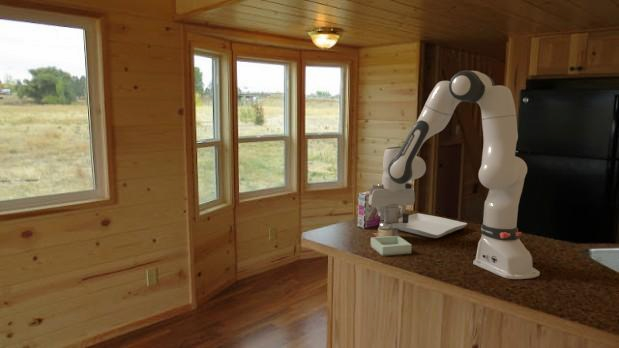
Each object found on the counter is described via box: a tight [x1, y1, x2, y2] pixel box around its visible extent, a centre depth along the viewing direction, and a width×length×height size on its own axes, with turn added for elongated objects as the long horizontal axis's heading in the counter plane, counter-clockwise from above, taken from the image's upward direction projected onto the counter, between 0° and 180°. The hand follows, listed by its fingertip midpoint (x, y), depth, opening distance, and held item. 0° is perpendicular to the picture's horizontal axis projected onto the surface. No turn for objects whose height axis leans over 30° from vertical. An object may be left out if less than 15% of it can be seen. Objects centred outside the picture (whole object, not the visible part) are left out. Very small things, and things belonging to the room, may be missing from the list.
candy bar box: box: [356, 191, 381, 230], centre depth 201 cm, size 11×5×16 cm, turn 130°
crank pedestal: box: [372, 227, 393, 237], centre depth 183 cm, size 14×6×6 cm, turn 14°
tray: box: [370, 235, 412, 257], centre depth 169 cm, size 12×12×4 cm
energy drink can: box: [383, 204, 400, 236], centre depth 184 cm, size 6×6×15 cm
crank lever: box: [378, 212, 410, 230], centre depth 179 cm, size 13×5×6 cm, turn 102°
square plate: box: [398, 212, 468, 239], centre depth 197 cm, size 27×27×4 cm
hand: (390, 215), depth 184 cm, fingers open, 8 cm apart
